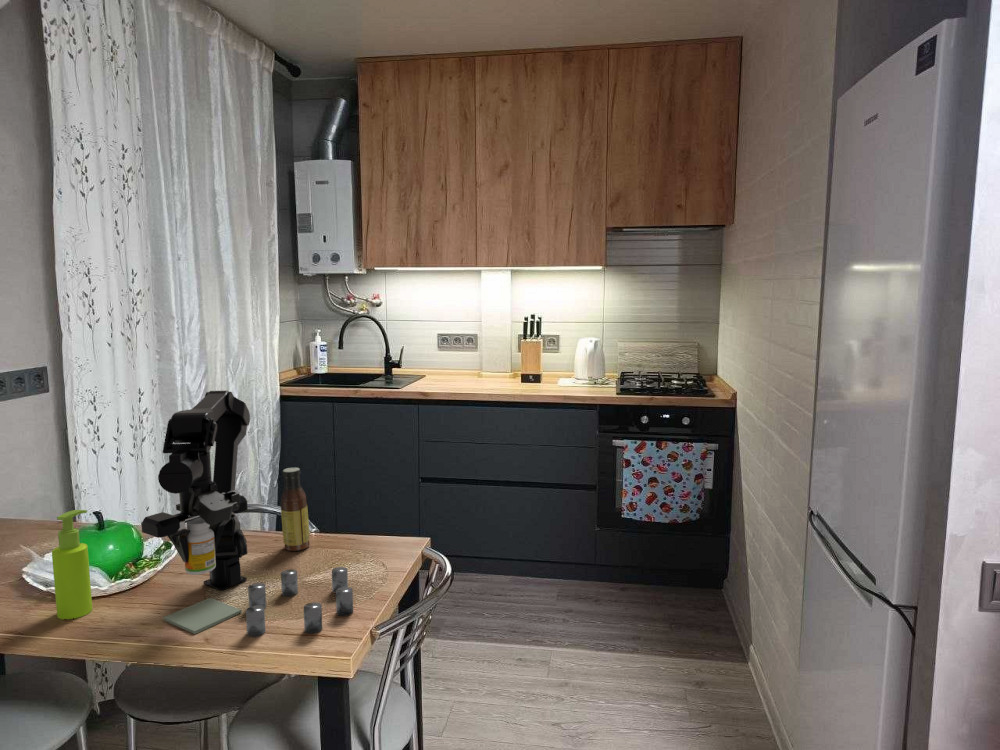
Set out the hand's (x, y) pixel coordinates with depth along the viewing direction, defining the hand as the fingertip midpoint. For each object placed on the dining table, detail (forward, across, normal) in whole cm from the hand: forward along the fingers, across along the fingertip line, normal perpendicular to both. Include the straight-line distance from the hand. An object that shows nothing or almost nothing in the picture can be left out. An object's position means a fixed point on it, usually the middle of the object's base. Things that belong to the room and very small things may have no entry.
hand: (199, 556), depth 130 cm
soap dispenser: (+12, -12, +23) cm, 29 cm away
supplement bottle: (+3, 0, 0) cm, 3 cm away
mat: (+12, 0, 0) cm, 12 cm away
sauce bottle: (+12, +34, +13) cm, 38 cm away
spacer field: (+12, +12, -14) cm, 22 cm away
